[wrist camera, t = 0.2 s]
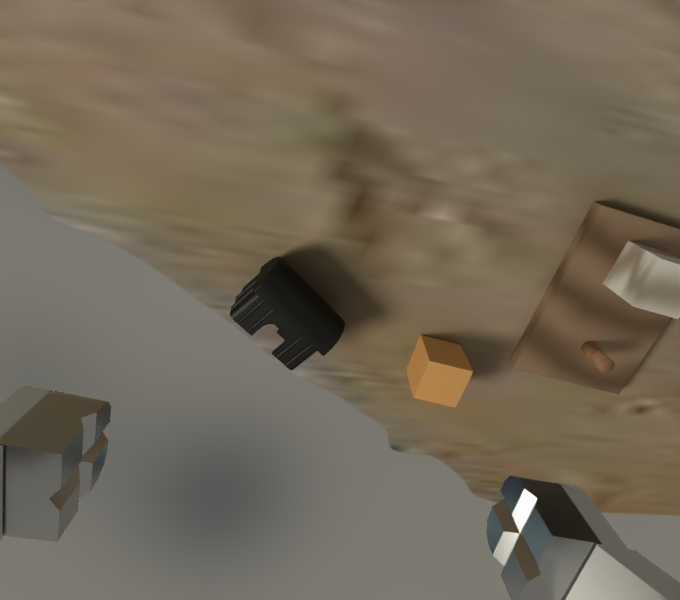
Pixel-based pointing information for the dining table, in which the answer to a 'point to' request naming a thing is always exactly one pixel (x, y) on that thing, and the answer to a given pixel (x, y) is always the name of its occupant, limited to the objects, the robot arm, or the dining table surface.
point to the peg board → (605, 301)
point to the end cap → (288, 313)
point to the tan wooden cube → (438, 371)
